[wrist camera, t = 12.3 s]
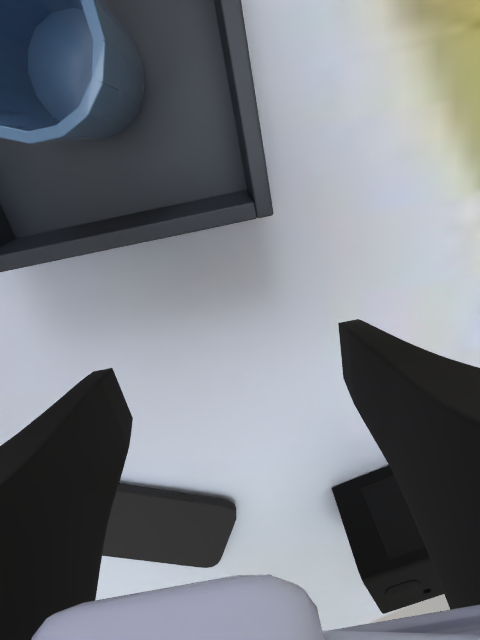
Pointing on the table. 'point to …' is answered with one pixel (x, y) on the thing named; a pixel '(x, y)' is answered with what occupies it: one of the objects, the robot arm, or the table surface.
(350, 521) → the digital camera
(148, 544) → the phone
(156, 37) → the tub
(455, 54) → the table surface
